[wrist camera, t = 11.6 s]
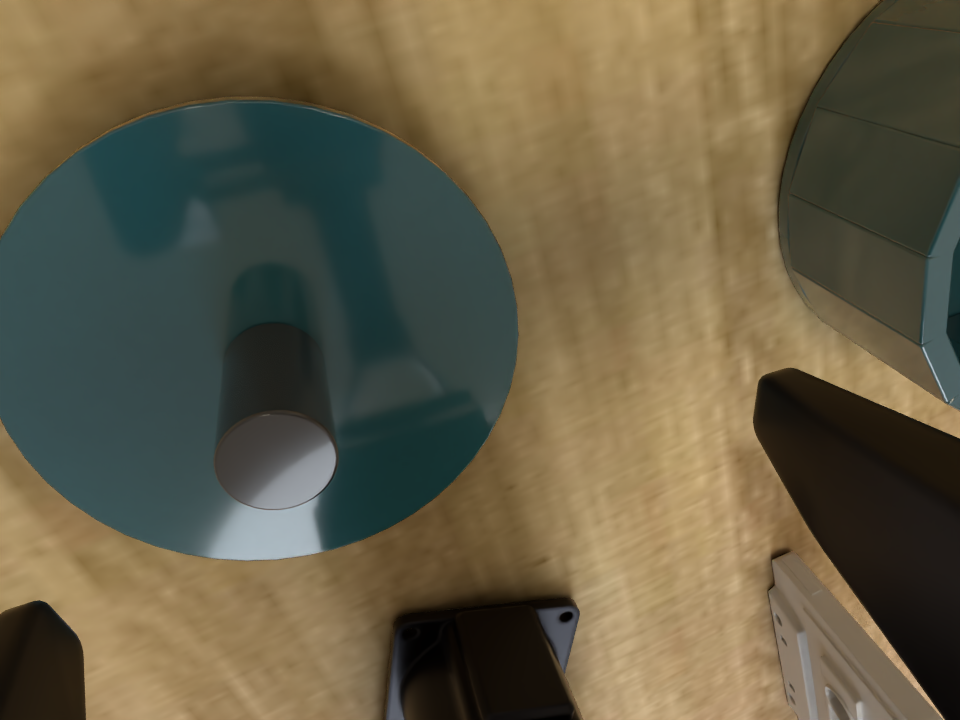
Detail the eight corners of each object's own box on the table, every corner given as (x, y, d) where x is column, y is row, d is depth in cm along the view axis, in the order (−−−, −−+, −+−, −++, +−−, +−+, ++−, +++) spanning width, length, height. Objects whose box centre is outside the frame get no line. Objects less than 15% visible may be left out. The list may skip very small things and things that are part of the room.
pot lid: (581, 377, 22) (659, 483, 18) (238, 601, 23) (232, 755, 18) (326, -31, 15) (352, -22, 11) (-144, 303, 16) (-293, 433, 12)
